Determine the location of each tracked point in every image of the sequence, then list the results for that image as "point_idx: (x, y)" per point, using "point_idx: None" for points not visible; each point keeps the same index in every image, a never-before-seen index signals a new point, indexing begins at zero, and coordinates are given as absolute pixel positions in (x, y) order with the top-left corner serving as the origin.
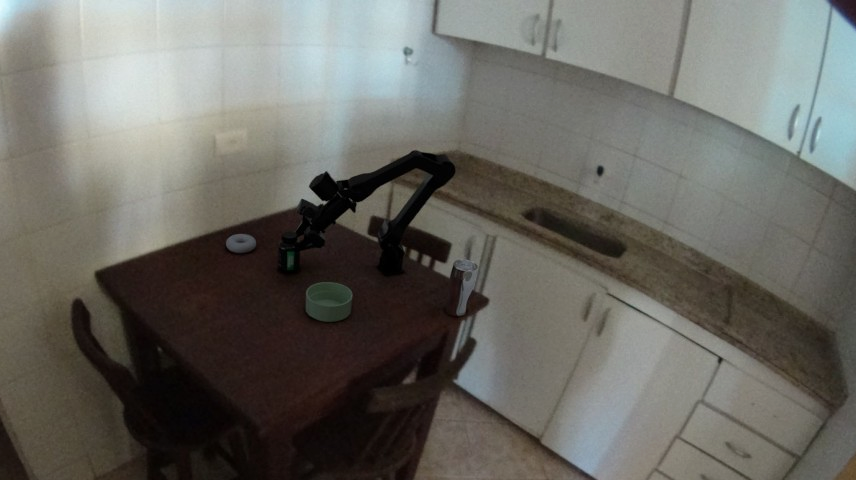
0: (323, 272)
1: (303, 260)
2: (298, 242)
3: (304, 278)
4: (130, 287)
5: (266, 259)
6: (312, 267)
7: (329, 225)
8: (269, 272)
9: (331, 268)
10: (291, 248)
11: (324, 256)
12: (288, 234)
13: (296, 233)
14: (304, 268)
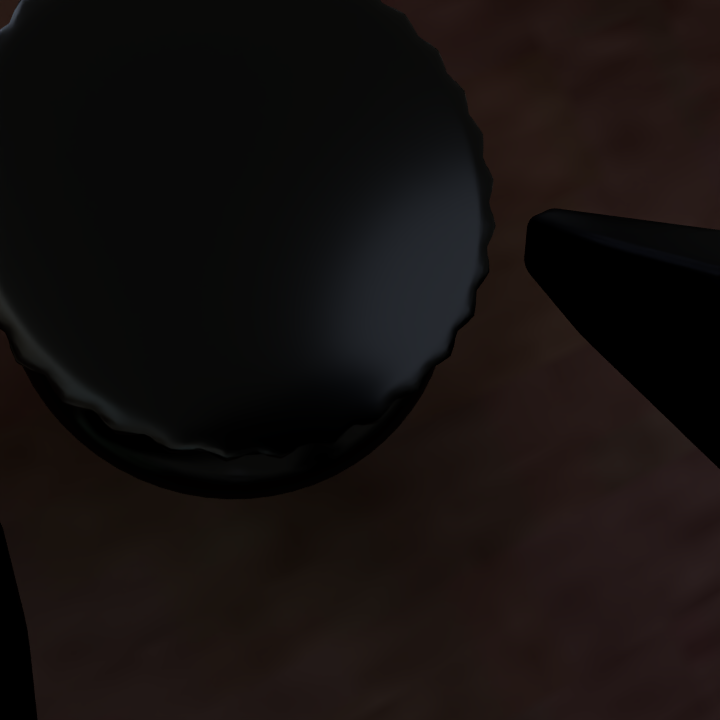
0: (344, 675)
1: (470, 394)
2: (356, 433)
3: (137, 563)
4: None
5: None
6: (387, 531)
7: None
8: None
9: (451, 704)
10: (54, 398)
11: (619, 535)
12: (228, 156)
13: (418, 373)
14: None
